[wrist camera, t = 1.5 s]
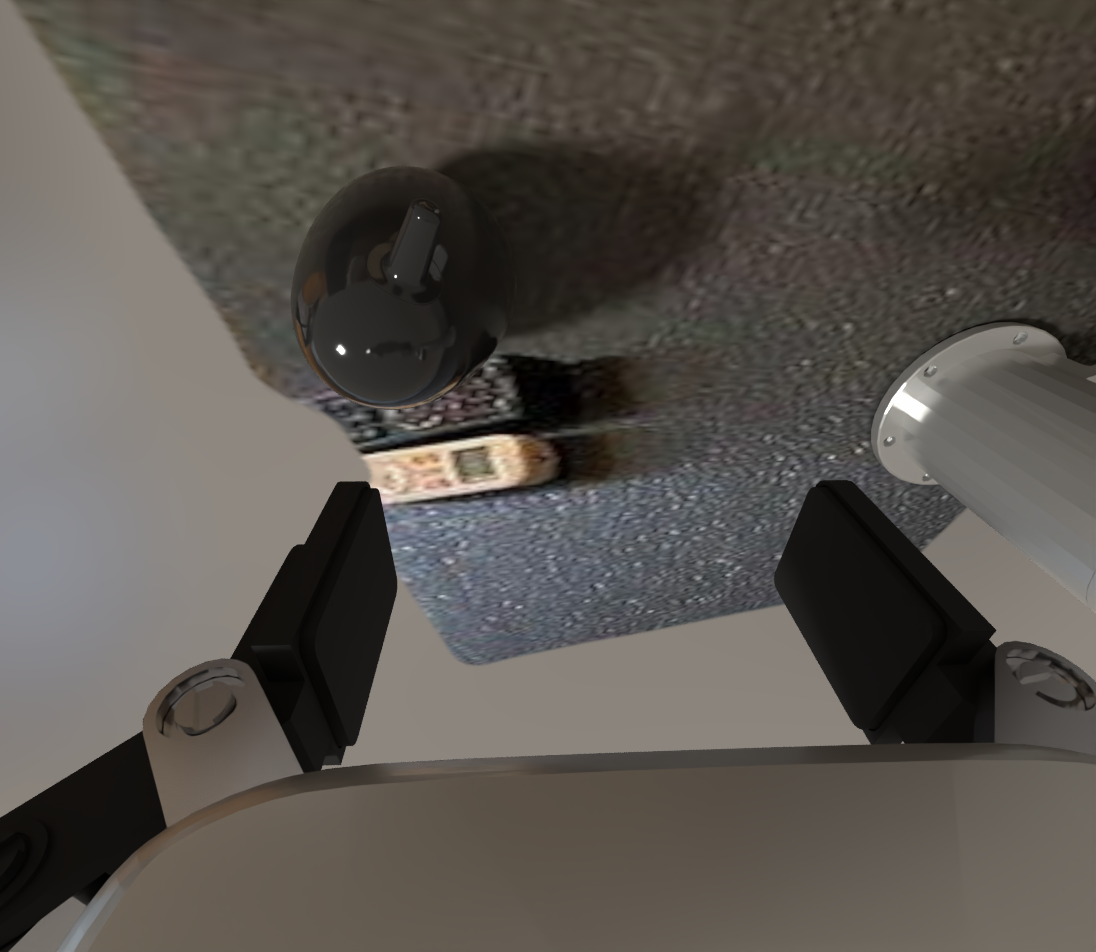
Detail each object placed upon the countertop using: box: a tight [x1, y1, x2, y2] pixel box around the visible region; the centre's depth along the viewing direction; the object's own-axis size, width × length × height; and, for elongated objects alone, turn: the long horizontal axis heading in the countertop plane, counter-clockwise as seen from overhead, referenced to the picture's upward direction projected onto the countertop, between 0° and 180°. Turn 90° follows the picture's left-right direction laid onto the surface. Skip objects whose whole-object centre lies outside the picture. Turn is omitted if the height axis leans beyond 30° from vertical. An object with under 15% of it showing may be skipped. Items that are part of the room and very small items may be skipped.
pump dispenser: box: [291, 166, 516, 410], centre depth 23 cm, size 10×10×15 cm
